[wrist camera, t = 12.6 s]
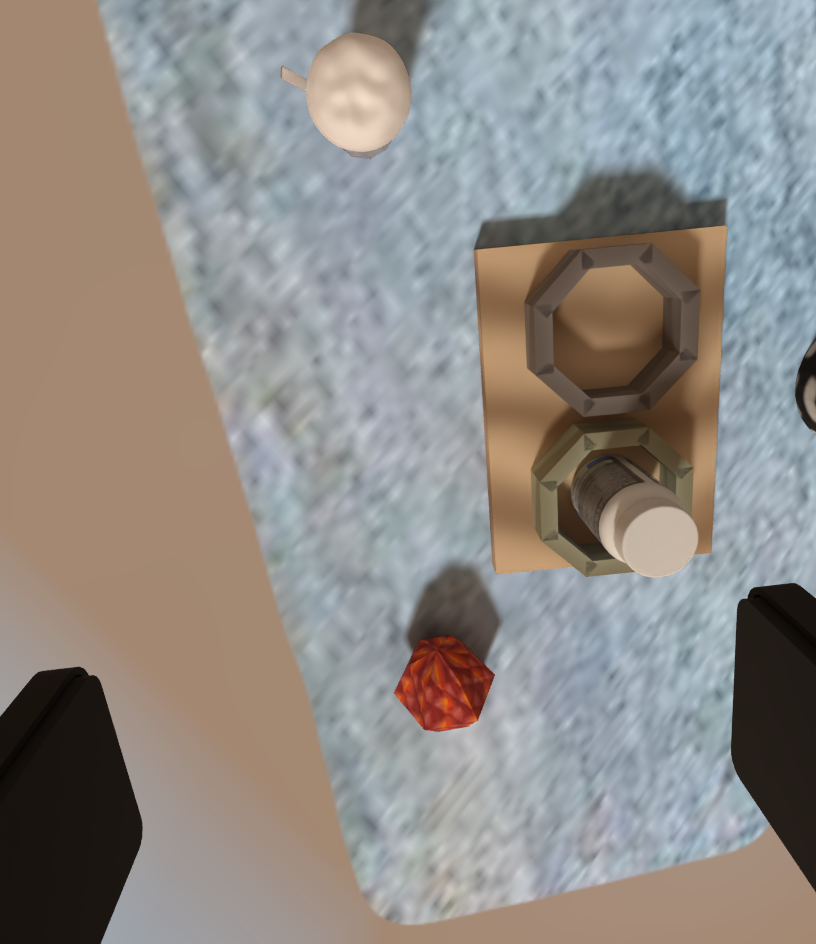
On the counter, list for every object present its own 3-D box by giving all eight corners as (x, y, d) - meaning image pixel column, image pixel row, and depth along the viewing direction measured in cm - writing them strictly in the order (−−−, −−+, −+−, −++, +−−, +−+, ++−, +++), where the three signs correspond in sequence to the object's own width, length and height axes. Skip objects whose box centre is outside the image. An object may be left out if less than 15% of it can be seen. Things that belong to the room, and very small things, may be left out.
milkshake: (310, 71, 36) (285, 6, 27) (410, 87, 37) (420, 28, 27) (303, 163, 38) (276, 133, 28) (399, 177, 38) (405, 152, 28)
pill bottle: (564, 523, 43) (607, 583, 35) (574, 451, 42) (621, 497, 34) (638, 526, 43) (697, 586, 35) (650, 454, 42) (714, 500, 34)
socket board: (473, 249, 39) (483, 249, 35) (714, 226, 39) (750, 223, 36) (492, 564, 45) (502, 592, 42) (701, 543, 45) (730, 569, 42)
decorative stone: (405, 674, 50) (389, 609, 45) (496, 673, 50) (490, 606, 44) (399, 759, 46) (380, 696, 40) (499, 759, 45) (493, 695, 40)
